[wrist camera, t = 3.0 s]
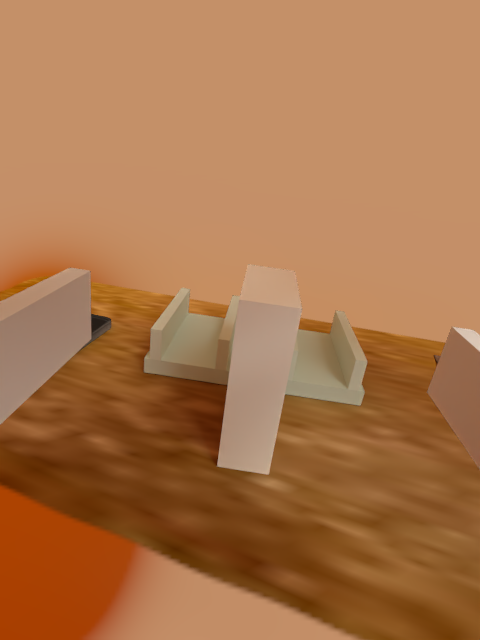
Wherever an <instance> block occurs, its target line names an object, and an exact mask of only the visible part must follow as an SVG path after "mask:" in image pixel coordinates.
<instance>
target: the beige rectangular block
mask: <svg viewBox="0 0 480 640" xmlns="http://www.w3.org/2000/svg"><path fill="white" fill-rule="evenodd" d="M301 312H302V306H301V300H300V295H299V290H298V284H297V279H296V274H295V271H291V270H284V269H276V268H270V267H263V266H255V265H250V264H249V265H248V268H247V271H246V275H245V279H244V282H243V286H242V290H241V294H240V298H239V303H238V311H237V318H236V326H235V333H234V341H233V349H232V356H231V364H230V371H229V379H228V386H227V394H226V402H225V409H224V417H223V424H222V432H221V440H220V447H219V455H218V462H217V467H223V468H230V469H236V470H242V471H248V472H254V473H261V474H267V475H269V470H270V465H271V460H272V455H273V450H274V445H275V440H276V436H277V431H278V426H279V421H280V416H281V411H282V406H283V401H284V396H285V391H286V386H287V381H288V376H289V371H290V366H291V361H292V357H293V352H294V347H295V342H296V337H297V332H298V327H299V322H300V317H301Z"/></svg>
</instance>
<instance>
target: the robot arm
mask: <svg viewBox="0 0 480 640" xmlns="http://www.w3.org/2000/svg"><path fill="white" fill-rule="evenodd" d="M90 340H91V284H90V271H88V270H81V269H75V268H68V269H66V270H64V271H62V272H60V273H58V274H56V275H54V276H52V277H50V278H48V279H46V280H44V281H42V282H40V283H38V284H36V285H33V286H31V287H29V288H27V289H25V290H23V291H21V292H19V293H17V294H15V295H13V296H11V297H9V298H7V299H5V300H3V301H1V302H0V424H1V423H2V422H3V421H5V420H6V419H7V418H8V417H9V416H10V415H11V414H12V413H13V412H14V411H15V410H16V409H17V408H18V407H19V406H20V405H22V404H23V403H24V402H25V401H26V400H27V399H28V398H29V397H30V396H31V395H32V394H33V393H34V392H35V391H36V390H38V389H39V388H40V387H41V386H42V385H43V384H44V383H45V382H46V381H47V380H48V379H49V378H50V377H51V376H52V375H53V374H55V373H56V372H57V371H58V370H59V369H60V368H61V367H62V366H63V365H64V364H65V363H66V362H67V361H68V360H69V359H71V358H72V357H73V356H74V355H75V354H76V353H77V352H78V351H79V350H80V349H81V348H82V347H83V346H84V345H85V344H86V343H88V342H89V341H90ZM427 393H428V394H429V396H430V397H431V399H432V400H433V402H434V403H435V405H436V406H437V408H438V409H439V411H440V412H441V413H442V415H443V416H444V418H445V419H446V421H447V422H448V424H449V425H450V427H451V428H452V430H453V431H454V433H455V434H456V435H457V437H458V438H459V440H460V441H461V443H462V444H463V446H464V447H465V449H466V450H467V452H468V453H469V455H470V456H471V457H472V459H473V460H474V462H475V463H476V465H477V466H478V468H479V469H480V335H479V334H478V333H477V332H475V331H474V330H470V329H463V328H457V327H452V328H451V330H450V333H449V335H448V338H447V341H446V343H445V346H444V349H443V351H442V354H441V357H440V359H439V362H438V365H437V367H436V370H435V372H434V375H433V378H432V380H431V383H430V386H429V388H428V391H427Z"/></svg>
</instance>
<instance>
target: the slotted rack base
mask: <svg viewBox="0 0 480 640" xmlns="http://www.w3.org/2000/svg"><path fill="white" fill-rule="evenodd" d="M189 297H190V289H186V288H181V289H180V291H179V292H178V293H177V295H176V296H175V297H174V299H173V300H172V301H171V303H170V304H169V305H168V307H167V308H166V309H165V311H164V312H163V313H162V315H161V316H160V317H159V319H158V320H157V321H156V323H155V324H154V325H153V327H152V328H151V337H150V350H149V352H148V353H147V355H146V356H145V358H144V372H145V373H152V374H158V375H165V376H171V377H178V378H184V379H190V380H197V381H203V382H210V383H216V384H223V385H228V379H229V371H230V364H231V356H232V349H233V341H234V333H235V326H236V318H237V311H238V303H239V298H240V296H234V295H233V296H232V299H231V302H230V305H229V308H228V311H227V314H226V317H225V318H220V317H213V316H207V315H200V314H193V313H188V311H189ZM367 362H368V361H367V359H366V357H365V355H364V353H363V351H362V348H361V346H360V344H359V342H358V340H357V338H356V336H355V334H354V331H353V329H352V327H351V325H350V323H349V321H348V319H347V317H346V315H345V313H344V312H343V311H335V315H334V319H333V323H332V327H331V331H330V334H327V333H320V332H314V331H307V330H300V329H298V332H297V337H296V342H295V347H294V352H293V357H292V361H291V366H290V371H289V376H288V381H287V386H286V391H285V394H288V395H294V396H300V397H307V398H313V399H320V400H326V401H333V402H339V403H346V404H352V405H359V406H361V403H362V399H363V396H364V393H365V391H364V389H363V386H362V384H361V383H362V380H363V376H364V373H365V369H366V366H367Z"/></svg>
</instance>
